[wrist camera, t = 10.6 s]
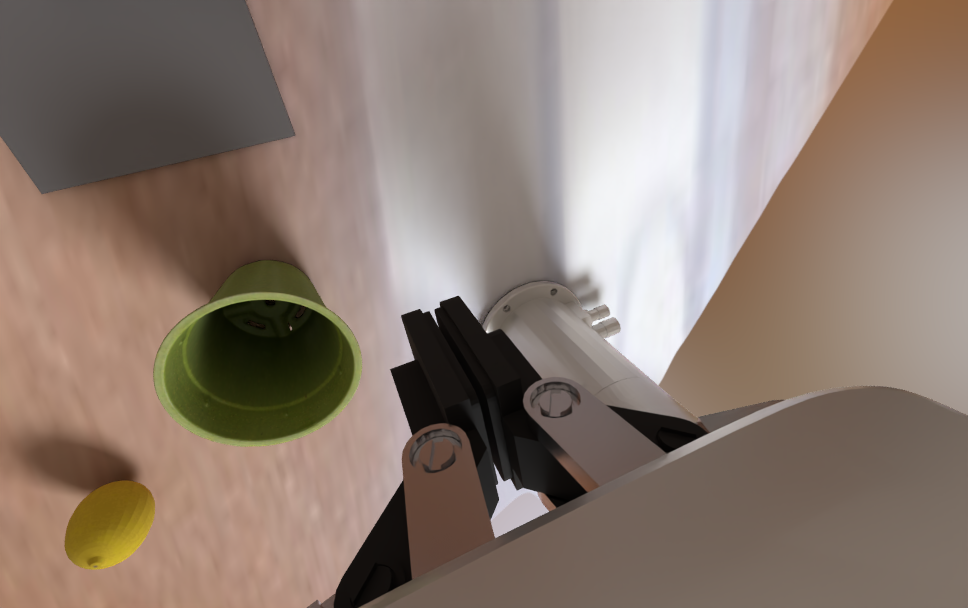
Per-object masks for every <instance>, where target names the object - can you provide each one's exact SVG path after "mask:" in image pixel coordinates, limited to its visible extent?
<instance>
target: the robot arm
mask: <svg viewBox="0 0 968 608" xmlns="http://www.w3.org/2000/svg"><path fill="white" fill-rule="evenodd" d="M435 315H436V319H437V323H438V326H439V327H438V326H437V324H436V322H435V320H434V319H433V317H432V315H431V313H430V312H429V311H428V312H425V313H422V311H421V310H420V309H418V310H415V311H412V312H409V313H407V314H404V315H401V317H402V321H403V324H404V327H405V330H406V334H407V337H408V340H409V343H410V346H411V349H412V353H413V356H414V359H415V360H414V361H411V362H409V363H406V364H403V365H401V366H398V367H395V368H392V369H390V370H391V373H392V376H393V379H394V382H395V385H396V388H397V391H398V394H399V397H400V400H401V403H402V406H403V409H404V412H405V415H406V418H407V420H408V423H409V426H410V429H411V432H412V435H413V436H412V437H411V438H410V439H409V441H408V442H407V443H406V445H405V447H404V449H403V453H402V468H403V481H402V483H401V484H400V486H399V488H398V489H397V491H396V492H395V494H394V496H393V497H392V499H391V500H390V502H389V504H388V505H387V507H386V508H385V510H384V512H383V513H382V515H381V516H380V518H379V520H378V521H377V523H376V524H375V526H374V528H373V529H372V531H371V532H370V534H369V536H368V537H367V539H366V540H365V542H364V544H363V545H362V547H361V548H360V550H359V552H358V553H357V555H356V556H355V558H354V560H353V561H352V563H351V564H350V566H349V568H348V569H347V571H346V572H345V574H344V576H343V577H342V579H341V581H340V584H339V586H338V588H337V590H336V593H335V594H334V595H332V596H331V597H330V598H328V599H327V600H326V601H324V602H323V603H322V604H321V603H320V602H319V600H316V601H315V602H314V603H312V604H311V605H310V606H308V607H307V608H968V415H966V414H963V413H961V412H959V411H957V410H955V409H953V408H950V407H948V406H946V405H943V404H941V403H939V402H936V401H933V400H932V399H929V398H926V397H923V396H921V395H918V394H915V393H912V392H909V391H905V390H902V389H897V388H891V387H883V386H852V387H841V388H832V389H826V390H822V391H816V392H812V393H807V394H804V395H801V396H797V397H794V398H790V399H787V400H772V401H768V402H763V403H759V404H755V405H750V406H745V407H741V408H737V409H732V410H727V411H723V412H719V413H714V414H709V415H705V416H701V417H698V418H697V417H696V416H694V415H693V414H692V413H691V412H689V411H688V410H687V409H686V408H685V407H683V406H682V405H681V404H680V403H678V402H677V401H676V400H675V399H673V398H672V397H671V396H670V395H669V394H668V393H666V392H665V391H664V390H663V389H662V388H661V387H659V386H658V385H657V384H656V383H655V382H654V381H652V380H651V379H650V378H649V377H648V376H647V375H645V374H644V373H643V372H642V371H641V370H640V369H639V368H637V367H636V366H635V365H634V364H633V363H632V362H630V361H629V360H628V359H627V358H626V357H625V356H623V355H622V354H621V353H620V352H619V351H618V350H617V349H615V348H614V347H613V346H612V345H611V344H610V343H608V342H607V341H606V340H605V339H604V338H608V337H610V336H613V335H615V334H618V333H619V332H620V329H621V328H620V324H619V322H618V321H617V320H616V318H614V317H612V318H610V319H607V320H604V321H602V322H599V323H598V324H596V325H594V326H592V322H593V321H595V320H600V319H602V318H605V317H607V316H609V315H610V311H609V308H608V307H607V306H606V305H601V306H599V307H596V308H594V309H593V310H590V311H587V310H583V309H582V306H581V304H580V302H579V300H578V298H577V297H576V296H575V295H574V294H573V293H572V292H571V291H570V290H569V289H567V288H566V287H564V286H562V285H560V284H558V283H554V282H551V281H537V282H531V283H528V284H525V285H522V286H520V287H518V288H516V289H514V290H512V291H511V292H509V293H508V294H507V295H505V296H504V297H503V298H501V299H500V300H499V301H498V303H497V304H496V305H495V306H494V307H493V308H492V310H491V311H490V312H489V314H488V315H487V317H486V319H485V321H484V323H483V326H481V325H480V323H479V322H478V321H477V319H476V318H475V317H474V315H473V314H472V313H471V311H470V310H469V309H468V307H467V306H466V305H465V303H464V302H463V301H462V299H461V298H460V297H459V296H456V297H453V298H450V299H447V300H444V301H441V302H440V308H437V309H435ZM493 462H494V463H493ZM494 464H495V466H496V468H497V470H498V472H499V474H500V476H501V478H502V479H503V481H506V480H508V479H510V478H511V480H512V482H513V484H514V486H515V488H516V490H519V489H521V488H526V489H530V490H533V491H537V492H538V496H539V498H540V500H541V501H542V503H543V504H544V505H545V507H546V508H547V509H548V510H549V512H548V513H546V514H544V515H542V516H540V517H538V518H536V519H533V520H531V521H530V522H527V523H526V524H523V525H521V526H519V527H517V528H515V529H513V530H511V531H509V532H507V533H505V534H503V535H501V536H499V537H497V538H495V537H494V532H493V529H492V525H491V521H490V520H491V518H492V515H493V513H494V510H495V508H496V506H497V503H498V501H499V497H498V493H497V489H496V485H497V484H498V480H497V476H496V472H495V468H494Z"/></svg>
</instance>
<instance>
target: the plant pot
mask: <svg viewBox="0 0 968 608" xmlns="http://www.w3.org/2000/svg"><path fill="white" fill-rule="evenodd" d="M266 300H275V304H274V305H272V306H269V305H267V304H266V302H265V301H266ZM301 305H303V306H305V307H306V310H305V312H304V314H303V315H302V316H301V317H300V318H296V317H295V315H296V313H297V312H298V311H299V309H300V307H301ZM248 321H253V322H255V323H258V324H262V325H265V328H266V329H262V328H257V327H254V326H251V325H249V324H248V323H247V322H248ZM287 321H288V322H289V324H290V325H291V327H292V331H291V330H290V328H289V325H288V322H287ZM361 372H362V357H361V352H360V348H359V345H358V342H357V340H356V338H355V336H354V334H353V333H352V331H351V330H350V328H349V327H348V326H347V325H346V323H345V322H344V321H343V320H342V319H341V318H340V317H339V316H337V315H336V314H335V313H333V312H332V311H331V310H329V309H328V308H326V306H325V305H324V303H323V301H322V300H321V298H320V296H319V295H318V293H317V291H316V289H315V287H314V286H313V284H312V283H311V281H310V280H309V278H308V277H307V276H306V275H305V274H304V273H303V272H302V271H300V270H299V269H297V268H296V267H294V266H292V265H290V264H287V263H284V262H280V261H273V260H262V261H257V262H254V263H250V264H247V265H244V266H242V267H240V268H238V269H237V270H236V271H234V272H233V273H232V274H231V275H230V276H229V277H228V278H227V280H226V281H225V282H224V284H223V285H222V286H221V288H220V289H219V290H218V291H217V293H216V294H215V295H214V297H213V298H212V299H211V300H210V302H209V303H208V304H206V305H204V306H202V307H200V308H198V309H196V310H195V311H193V312H192V313H190V314H189V315H187V316H186V317H185V318H183V319H182V320H181V321H180V322H179V323H178V324H177V325H176V326H175V327H174V328H173V329H172V330H171V331H170V332H169V333H168V335H167V336H166V337H165V339H164V340H163V342H162V344H161V346H160V348H159V350H158V352H157V355H156V358H155V363H154V372H153V377H154V386H155V390H156V393H157V396H158V398H159V400H160V402H161V404H162V405H163V407H164V409H165V410H166V411H167V412H168V413H169V415H170V416H171V417H172V418H173V419H174V420H175V421H176V422H177V423H179V424H180V425H181V426H182V427H184V428H185V429H187V430H188V431H190V432H192V433H194V434H196V435H198V436H200V437H202V438H205V439H208V440H211V441H214V442H217V443H222V444H227V445H233V446H241V447H248V446H269V445H275V444H280V443H284V442H288V441H292V440H295V439H298V438H301V437H304V436H306V435H308V434H310V433H312V432H314V431H316V430H318V429H319V428H321V427H323V426H324V425H326V424H327V423H329V422H330V421H331V420H333V419H334V418H335V417H336V416H337V415H338V414H339V413H340V412H341V411H342V410H343V409H344V408H345V407H346V405H347V404H348V403H349V402H350V400H351V399H352V397H353V395H354V394H355V392H356V390H357V387H358V385H359V381H360V378H361Z"/></svg>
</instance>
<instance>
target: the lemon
mask: <svg viewBox="0 0 968 608" xmlns="http://www.w3.org/2000/svg"><path fill="white" fill-rule="evenodd" d="M154 514H155V502H154V498H153V496H152V494H151V492H150V491H149V490H148V489H147V488H146V487H145V486H144V485H142V484H140V483H137V482H134V481H128V480H125V481H116V482H111V483H108V484H105V485H103V486H101V487H99V488H98V489H96V490H94V491H93V492H91V493H90V494H89V495H88V496H87V497H86V498H85V499H83V501H82V502H81V503H80V504H79V505H78V507H77V508H76V510H75V511H74V513H73V515H72V516H71V518H70V520H69V523H68V526H67V530H66V536H65V551H66V553H67V556H68V558H69V559H70V560H71V561H72V562H73V563H74V564H76V565H77V566H79V567H81V568H85V569H92V570H94V569H104V568H108V567H111V566H114V565H116V564H118V563H120V562H122V561H123V560H125V559H126V558H128V557H129V556H130V555H132V554H133V553H134V552H135V551H136V549H137V548H138V547H139V546H140V545H141V543H142V542H143V541H144V539H145V538H146V536H147V534H148V532H149V530H150V527H151V525H152V522H153V519H154Z"/></svg>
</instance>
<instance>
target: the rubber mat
mask: <svg viewBox="0 0 968 608" xmlns="http://www.w3.org/2000/svg"><path fill="white" fill-rule="evenodd" d="M0 136H1V137H2V139H3V140H4V142H5V143H6V144H7V146H8V147H9V149H10V150H11V151H12V153H13V154H14V156H15V157H16V158H17V160H18V161H19V163H20V164H21V165H22V167H23V168H24V170H25V171H26V172H27V174H28V175H29V177H30V178H31V179H32V181H33V182H34V184H35V185H36V186H37V188H38V189H39V191H40V192H41V193H42V194H44V193H48V192H53V191H57V190H61V189H66V188H70V187H74V186H79V185H83V184H87V183H92V182H96V181H101V180H105V179H109V178H114V177H118V176H122V175H127V174H131V173H135V172H140V171H144V170H148V169H153V168H157V167H162V166H166V165H170V164H175V163H179V162H183V161H188V160H192V159H196V158H201V157H205V156H209V155H214V154H218V153H222V152H227V151H231V150H236V149H240V148H244V147H249V146H253V145H257V144H262V143H266V142H270V141H275V140H279V139H283V138H288V137H292V136H295V133H294V130H293V127H292V125H291V122H290V119H289V117H288V114H287V111H286V109H285V106H284V103H283V101H282V98H281V95H280V93H279V90H278V87H277V84H276V82H275V79H274V76H273V74H272V71H271V68H270V66H269V63H268V60H267V58H266V55H265V52H264V50H263V47H262V44H261V42H260V39H259V36H258V33H257V31H256V28H255V25H254V23H253V20H252V17H251V15H250V12H249V9H248V7H247V4H246V1H245V0H0Z"/></svg>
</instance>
